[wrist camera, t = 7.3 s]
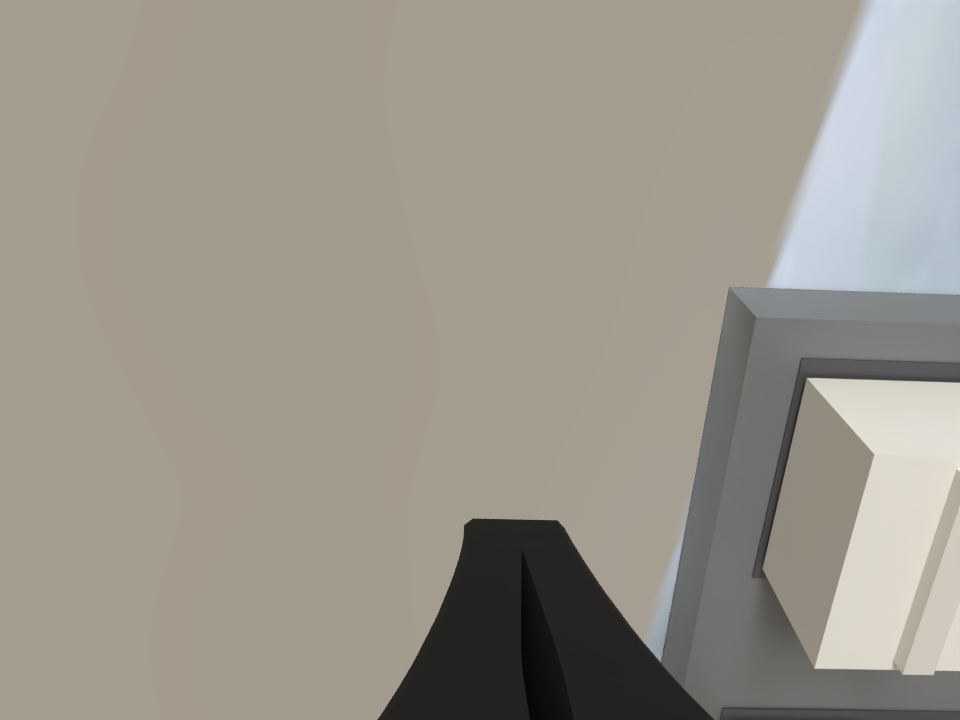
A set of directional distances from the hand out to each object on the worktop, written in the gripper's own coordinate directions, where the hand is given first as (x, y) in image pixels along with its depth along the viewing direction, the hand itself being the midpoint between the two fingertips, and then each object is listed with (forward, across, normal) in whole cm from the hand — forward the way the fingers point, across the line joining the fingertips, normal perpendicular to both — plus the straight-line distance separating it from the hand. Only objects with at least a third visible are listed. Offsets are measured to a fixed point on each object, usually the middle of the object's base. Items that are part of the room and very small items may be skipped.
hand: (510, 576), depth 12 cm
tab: (+3, -7, 0) cm, 7 cm away
